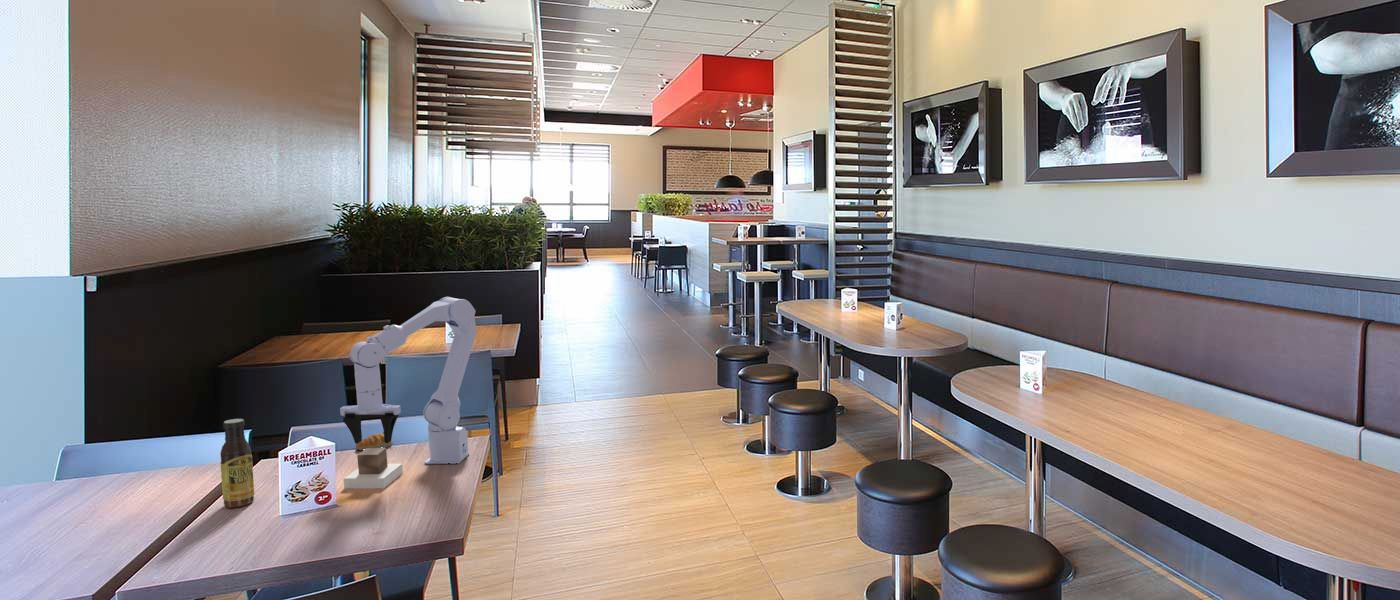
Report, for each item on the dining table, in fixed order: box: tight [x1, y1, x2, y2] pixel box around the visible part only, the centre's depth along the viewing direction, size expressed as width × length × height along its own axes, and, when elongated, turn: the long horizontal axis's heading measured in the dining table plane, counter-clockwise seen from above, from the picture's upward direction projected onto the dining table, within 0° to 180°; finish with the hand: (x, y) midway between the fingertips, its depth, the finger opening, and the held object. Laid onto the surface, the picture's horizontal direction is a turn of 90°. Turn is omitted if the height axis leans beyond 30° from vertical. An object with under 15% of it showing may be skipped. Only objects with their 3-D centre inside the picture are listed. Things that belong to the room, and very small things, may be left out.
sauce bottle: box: [220, 418, 255, 509], centre depth 166 cm, size 6×6×20 cm
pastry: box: [355, 431, 393, 451], centre depth 206 cm, size 9×7×4 cm
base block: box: [343, 463, 404, 489], centre depth 180 cm, size 10×10×3 cm
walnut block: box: [356, 447, 388, 474], centre depth 180 cm, size 5×5×5 cm
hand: (373, 442), depth 181 cm, fingers open, 7 cm apart
